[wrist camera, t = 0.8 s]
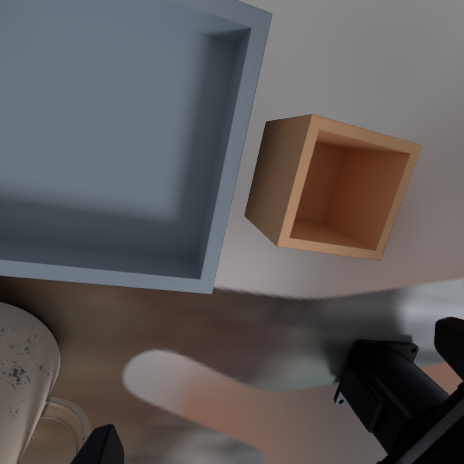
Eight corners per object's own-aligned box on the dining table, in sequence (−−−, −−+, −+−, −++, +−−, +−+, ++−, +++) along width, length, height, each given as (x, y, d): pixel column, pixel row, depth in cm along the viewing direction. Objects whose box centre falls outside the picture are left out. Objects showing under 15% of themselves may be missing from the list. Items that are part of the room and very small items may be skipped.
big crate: (250, 38, 16) (272, 13, 13) (203, 268, 20) (211, 293, 17) (-55, -66, 13) (-130, -136, 9) (-48, 240, 16) (-101, 266, 13)
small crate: (348, 143, 20) (422, 145, 14) (323, 228, 21) (380, 260, 16) (266, 121, 18) (312, 114, 13) (244, 215, 20) (277, 246, 14)
